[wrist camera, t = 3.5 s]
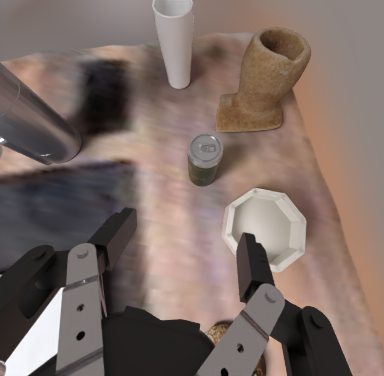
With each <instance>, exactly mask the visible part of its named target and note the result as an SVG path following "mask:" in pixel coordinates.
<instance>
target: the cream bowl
mask: <svg viewBox="0 0 384 376" xmlns="http://www.w3.org/2000/svg"><path fill="white" fill-rule="evenodd" d="M243 232H246V233H251V234H254V235H255V238H256V242H257V243H261V244H262V246H263V247H264V248H265V250H266V254H267V258H268V261H269V265H270V269H271V271H273V272H277V273H280V272H281V271H282V270H284V269H285V268H286V267H287V266H289V265H290V264H291V263H293V262H294V261H295V260H296V259H298V258H299V257H300V256H302V255H303V254H304V253H305V239H306V219H305V217H304V216H303V215H302V214H301V213H300V211H299V210H298V209H297V208H296V206H295V205H294V204H293V203H292V201H291V200H290V199H289V198H288V196H287V195H286V194H285V193H279V192H274V191H269V190H264V189H259V188H253V189H252V190H250V191H249V192H247V193H246V194H244V195H243V196H241V197H240V198H238V199H237V200H235V201H234V202H232V203H231V204H229V205H228V206H227V207H226V209H225V215H224V221H223V227H222V233H221V236H222V237H223V239H224V240H225V242H226V243H227V245H228V246H229V248H230V249H231V251H232V252H233V254H234V255H235V257H236V250H237V246H238V243H239V241H240V238H241V236H242V233H243Z"/></svg>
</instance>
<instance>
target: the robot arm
mask: <svg viewBox="0 0 384 376" xmlns="http://www.w3.org/2000/svg"><path fill="white" fill-rule="evenodd" d="M81 143H82V139H81V135H80V133H79V132H78V131H77V130H76V129H75V128H74V127H73V126H72V125H71V124H70V123H68V122H67V121H66V120H65V119H64V118H63V117H62V116H60V115H59V114H58V113H57V112H56V111H55V110H54V109H53V108H51V107H50V106H49V105H48V104H47V103H46V102H45V101H43V100H42V99H41V98H40V97H39V96H38V95H37V94H35V93H34V92H33V91H32V90H31V89H30V88H29V87H27V86H26V85H25V84H24V83H23V82H22V81H21V80H20V79H18V78H17V77H16V76H15V75H14V74H13V73H12V72H10V71H9V70H8V69H7V68H6V67H5V66H4V65H2V64H1V63H0V144H1V145H3V146H5V147H8V148H10V149H12V150H14V151H16V152H18V153H21V154H23V155H25V156H27V157H29V158H32V159H34V160H36V161H38V162H40V163H43V164H45V165H48V164H51V163H63V162H66V161H68V160H70V159H72V158H73V157H74V156H75V155H76V154H77V153H78V151H79V150H80V147H81ZM136 227H137V216H136V209H132V208H128V207H125V208H124V209H123V210H122V211H121V212H120V213H115V214H113V215H111V216H110V217H109V218H108V219H107V220H106V222H105V223H104V224H103V225H102V227H100V228H99V229H98V231H97V232H96V233H95V234H94V235H93V236H92V237H91V238H90V240H89V241H88V242H87V243H84V244H80V245H78V246H76V247H74V248H73V249H72V250H68V251H54V248H53V247H52V246H49V245H42V246H38V247H35V248H33V249H31V250H30V251H28V252H27V253H26V254H25V255H24V256H22V257H21V258H20V259H19V260H18V261H17V262H16V263H15V264H13V265H12V266H11V267H10V268H9V269H8V270H7V271H6V272H5V273H3V274H2V275H1V276H0V376H5V373H6V365H5V362H6V361H7V360H8V358H9V357H10V356H11V354H12V353H13V352H14V350H15V349H16V348H17V346H18V345H19V344H20V342H21V341H22V340H23V338H24V337H25V336H26V334H27V333H28V332H29V330H30V329H31V328H32V326H33V325H34V324H35V322H36V321H37V320H38V318H39V317H40V315H41V314H42V313H43V311H44V310H45V309H46V307H47V306H48V305H49V303H50V302H51V301H52V299H53V298H54V297H55V295H56V294H57V293H58V291H59V290H60V289H61V288H64V289H63V291H62V301H61V314H60V326H59V339H58V352H57V354H55V355H54V356H53V357H51V358H50V359H49V360H47V361H46V362H45V363H43V364H42V365H41V366H39V367H38V368H37V369H35V370H34V371H33V372H32V373H30V374H29V375H28V376H251V375H252V373H253V371H254V369H255V367H256V365H257V363H258V361H259V359H260V357H261V355H262V353H263V351H264V349H265V347H266V345H267V343H268V341H269V336H271V337H272V338H274V339H276V340H277V341H279V342H280V343H281V344H282V349H283V355H284V360H285V366H286V371H287V376H352V373H351V371H350V368H349V366H348V364H347V361H346V359H345V356H344V354H343V352H342V349H341V347H340V344H339V342H338V339H337V337H336V335H335V332H334V330H333V327H332V325H331V323H330V321H329V320H328V319H327V317H326V316H325V315H324V314H323V313H322V312H321V311H319V310H318V309H316V308H314V307H311V306H306V307H304V308H303V309H301V308H300V307H298V306H296V305H294V304H292V303H290V302H289V301H287V300H286V299H284V297H283V295H282V293H281V292H280V291H279V290H278V289H277V288H276V287H275V284H274V280H273V276H272V272H271V269H270V265H269V261H268V258H267V254H266V250H265V248H264V247H263V246H262V244H261V243H257V242H256V238H255V235H254V234H251V233H246V232H243V233H242V236H241V238H240V241H239V243H238V246H237V250H236V259H237V271H238V283H239V295H240V302H244V303H246V306H245V308H244V309H243V310H242V311H241V312H240V313H239V315H238V316H237V317H236V319H235V320H234V322H233V323H232V324H231V326H230V327H229V329H228V330H227V331H226V333H225V334H224V336H223V337H222V338H221V340H220V341H219V342H218V344H217V345H216V346H215V344H214V343H213V342H212V340H211V339H210V338H209V337H208V336H207V335H206V334H205V333H203V332H202V331H201V330H200V324H199V323H195V322H191V321H187V320H183V319H178V320H160V319H158V318H156V317H155V316H153V315H152V314H150V313H148V312H147V311H145V310H142V309H138V308H134V307H130V306H126V308H125V311H123V312H117V313H114V314H111V315H109V316H107V313H106V307H105V299H104V290H103V280H102V273H103V272H104V270H105V269H106V270H110V271H111V270H112V268H113V267H114V265H115V263H116V262H117V260H118V258H119V257H120V255H121V254H122V252H123V250H124V249H125V247H126V245H127V244H128V242H129V241H130V239H131V237H132V236H133V234H134V232H135V230H136ZM65 287H66V288H65Z"/></svg>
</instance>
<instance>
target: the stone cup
mask: <svg viewBox="0 0 384 376" xmlns="http://www.w3.org/2000/svg"><path fill="white" fill-rule="evenodd" d="M310 56H311V49H310V46H309V44H308V42H307V41H306V40H305V39H304V38H303V37H302V36H301V35H299V34H298V33H296V32H294V31H292V30H289V29H285V28H279V27H278V28H277V27H275V28H266V29H263V30H260V31H258V32H257V33H256V34H255V35H254V36H253V37H252V39H251V41H250V43H249V45H248V47H247V49H246V51H245V54H244V56H243V60H242V66H241V75H240V85H239V91H238V93H236V94H229V95H222V96H221V97H220V105H219V108H218V110H217V117H216V131H217V132H248V131H262V130H271V129H275V128H278V127H279V126H280V125H281V123H282V109H281V106H280V103H279V102H278V101H279V100H280V99H281V98H282V97H283V96H285V95H286V94H287V93H288V92H289V91H290V90H291V89H292V87H293V86H294V85H295V84H296V82H297V81H298V80H299V78H300V77H301V75H302V73H303V72H304V70H305V68H306V66H307V64H308V62H309V60H310Z"/></svg>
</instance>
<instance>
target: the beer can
mask: <svg viewBox="0 0 384 376" xmlns="http://www.w3.org/2000/svg"><path fill="white" fill-rule="evenodd" d="M187 155H188V170H189V178H190V180H191V181H192V182H193V183H194V184H195V185H197V186H207V185H209V184H210V183H211V182H212V181H213V179H214V177H215V175H216V172H217V170H218V167H219V165H220V162H221V160H222V157H223V146H222V143H221V141H220V139H219V138H218V137H217V136H215V135H213V134H210V133H200V134H198V135H196V136H195V137H194V138H192V140H191V141H190V143H189V145H188V150H187Z"/></svg>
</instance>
